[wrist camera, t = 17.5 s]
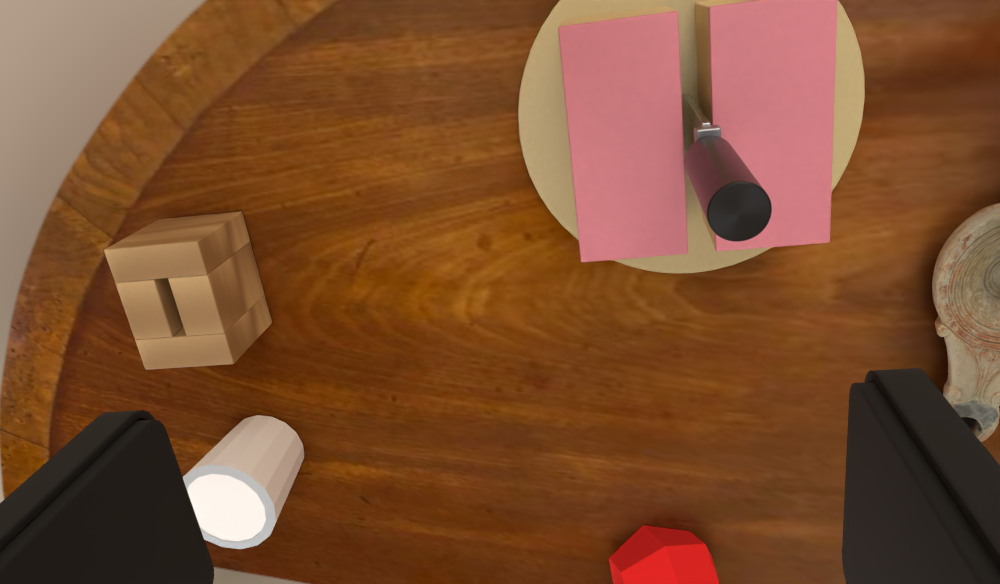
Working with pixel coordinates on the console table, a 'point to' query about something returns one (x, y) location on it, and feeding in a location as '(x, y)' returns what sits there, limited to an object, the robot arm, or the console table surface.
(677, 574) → the apple
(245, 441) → the white cylinder
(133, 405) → the console table surface
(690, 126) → the knife
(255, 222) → the console table surface
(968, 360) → the oil lamp
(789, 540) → the console table surface
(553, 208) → the cake
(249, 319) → the knife block
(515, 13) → the console table surface
